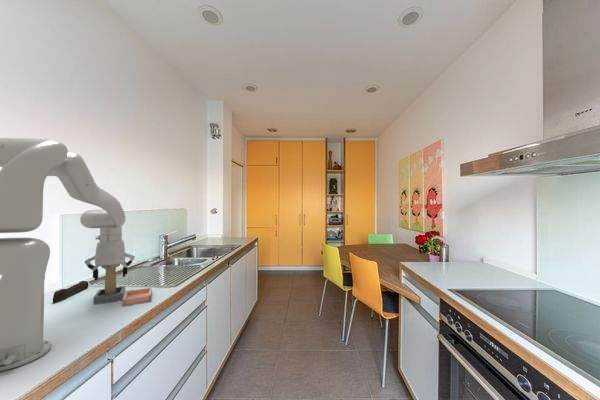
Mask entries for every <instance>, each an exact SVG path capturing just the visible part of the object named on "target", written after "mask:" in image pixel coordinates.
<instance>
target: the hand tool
mask: <svg viewBox="0 0 600 400" xmlns="http://www.w3.org/2000/svg"><path fill="white" fill-rule="evenodd" d="M88 288H89V282H88V281H86V280H82V281H80V282H78V283H76V284H73V285H70V287H67V288H61V289H60V288H59V290H56V291H54V293H53V296H52V304H56V303H60V302H62V301H64V300H66V299H68V297H70V296H72V295H74V294H76V293H78V292H80V291H82V290H83V291H84V289H85V290H86V289H88Z"/></svg>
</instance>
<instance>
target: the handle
mask: <svg viewBox="0 0 600 400" xmlns="http://www.w3.org/2000/svg"><path fill="white" fill-rule="evenodd" d="M120 266H121V264H118V265H109V266H100V267H101V269H104V270H105V279H104V289H105V295H109V294H115V293H116V287H117V279H116V278H117V275H116V274H117V273H116V272H117V271H116V269H118V267H120Z"/></svg>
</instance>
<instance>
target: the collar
mask: <svg viewBox="0 0 600 400" xmlns="http://www.w3.org/2000/svg"><path fill="white" fill-rule="evenodd" d="M125 293H126V285H124V286H116V293H115V294H109V295H105V288H100V289H98V291H97V292H96V293H95V294H94V296H93V298H92V299H93V301H92V303H93V304H92V305H93V306H94V305H95V306H96V305H101V304H107V303H114V302H120V301H122V300H123V297H124V295H125Z"/></svg>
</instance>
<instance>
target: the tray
mask: <svg viewBox="0 0 600 400" xmlns="http://www.w3.org/2000/svg"><path fill="white" fill-rule="evenodd" d="M152 288H153V287H144V288H138V289H132V290H125V295H124V297H123V300H121V301H122V302H121V303H122V305H121V306H122V307H126V306H133V305H138V304H145V302H146V303H150V301H152V292H153V291H152V290H153V289H152Z"/></svg>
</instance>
